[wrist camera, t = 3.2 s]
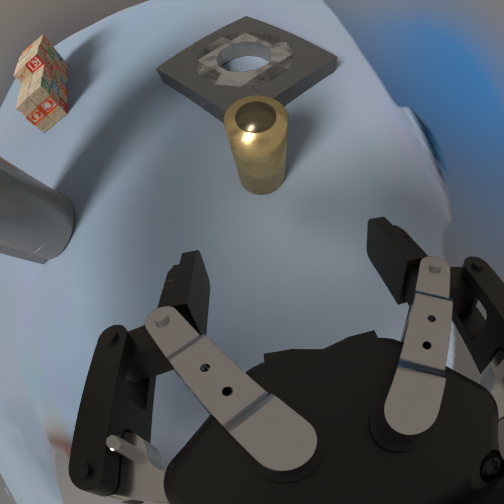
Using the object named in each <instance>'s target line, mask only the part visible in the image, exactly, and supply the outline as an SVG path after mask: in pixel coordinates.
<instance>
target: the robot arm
mask: <svg viewBox="0 0 504 504" xmlns="http://www.w3.org/2000/svg"><path fill="white" fill-rule="evenodd" d="M73 227H74V208H73V205H72V203H71V201H70V200H69V199H68V198H67V197H65V196H63V195H62V194H61V193H59V192H57V191H55V190H53V189H51V188H50V187H48V186H47V185H45V184H43V183H42V182H40V181H38V180H37V179H35V178H33V177H32V176H30V175H28V174H27V173H25V172H24V171H22V170H20V169H19V168H17V167H16V166H14V165H12V164H11V163H9V162H8V161H6V160H4V159H3V158H1V157H0V253H2V254H6V255H9V256H13V257H17V258H20V259H24V260H28V261H32V262H36V263H40V264H44V263H45V261H46V260H48V259H52V258H54V257H56V256H58V255H59V254H60V253H61V252H62V251H63V249H64V248H65V247H66V245H67V243H68V241H69V239H70V237H71V234H72V231H73ZM367 254H368V257H369V259H370V261H371V262H372V264H373V265H374V267H375V268H376V270H377V272H378V273H379V275H380V276H381V278H382V279H383V281H384V283H385V284H386V286H387V287H388V289H389V291H390V292H391V294H392V296H393V297H394V299H395V301H396V302H397V304H398V305H399V304H402V303H406V302H407V303H408V305H409V310H408V314H407V318H406V322H405V326H404V330H403V333H402V337H401V340H400V341H397V340H394V339H388V338H378V337H377V335H376V333H375V331H374V330H373V331H370V332H366V333H362V334H358V335H354V336H350V337H348V338H346V339H344V340H342V341H339V342H337V343H335V344H333V345H331V346H329V347H327V348H324V349H290V350H284V351H278V352H272V353H266V354H264V361H265V362H264V363H261V364H259V365H257V366H255V367H253V368H251V369H250V370H248V371H247V372H246V373H245V372H244V371H243V370H241V369H240V368H239V367H238V366H237V365H236V364H235V363H234V362H233V361H232V360H231V359H230V358H229V357H228V356H226V355H225V354H224V353H223V352H222V351H221V350H220V349H219V348H218V347H217V346H216V345H215V344H214V343H213V342H212V341H211V340H210V339H209V338H208V337H207V336H206V331H207V318H208V307H209V296H210V282H209V278H208V274H207V272H206V269H205V266H204V263H203V260H202V257H201V254H200V252H199V250H196V251H191V252H186V253H183V254H182V256H181V260H180V264H179V265H174V266H173V267H172V268H171V270H170V271H169V272H168V274H167V277H166V280H165V281H166V282H165V284H164V288H163V291H162V294H161V298H160V301H159V305H158V308H157V309H156V310H154V311H153V312H151V313H150V314H149V316H148V317H147V319H146V321H145V325H144V326H142V327H139V328H136V329H134V330H131V331H127V330H126V328H125V327H124V326H122V325H113V326H111V327H109V328H107V329H106V330H104V331H103V332H102V334H101V335H100V337H99V339H98V342H97V345H96V348H95V351H94V355H93V358H92V361H91V365H90V368H89V372H88V375H87V379H86V383H85V386H84V390H83V394H82V398H81V403H80V407H79V411H78V416H77V421H76V425H75V431H74V436H73V442H72V448H71V454H70V461H69V476H70V478H71V480H72V482H73V484H74V485H75V486H76V487H78V488H79V489H81V490H84V491H87V492H90V493H93V494H96V495H99V496H102V497H105V498H109V499H112V500H115V501H119V502H123V503H127V504H142V503H144V502H145V501H146V502H153V503H165V504H504V460H503V458H502V456H501V454H500V451H499V444H498V422H499V421H501V420H502V419H504V283H503V282H502V280H501V279H500V278H499V277H498V276H497V274H496V273H495V272H494V271H493V270H492V269H491V267H490V266H489V265H488V264H487V263H486V262H485V261H484V260H482V259H480V258H478V257H468V258H466V259H465V261H464V264H463V267H450V266H449V265H448V263H447V262H446V261H444V260H443V259H441V258H439V257H434V256H427V255H426V253H425V252H424V251H423V250H422V249H421V248H420V247H419V246H418V245H417V243H416V242H414V240H413V239H412V238H411V237H409V235H408V234H407V233H406V232H405V231H404V230H403V229H401V228H400V227H398V226H396V225H392V224H391V223H390V222H389V221H388V220H387V219H386V218H385V217H378V218H372V219H369V221H368V231H367ZM478 300H479V301H480V302H481V304H482V305H483V307H484V308H485V309H486V313H487V319H486V320H485V319H484V317H483V316H482V314H481V313H480V311H479V310H478V308H477V307H476V304H477V302H478ZM451 321H453V322H454V324H455V326H456V328H457V329H458V331H459V333H460V334H461V336H462V338H463V340H464V342H465V344H466V346H467V348H468V350H469V352H470V354H471V355H472V357H473V360H474V362H475V363H476V366H477V368H478V370H479V372H480V374H481V376H480V384H478V383H476V382H474V381H472V380H470V379H469V378H467V377H465V376H463V375H461V374H460V373H458V372H456V371H454V370H452V369H450V368H449V367H447V366H446V361H447V355H448V348H449V340H450V331H451ZM173 369H174V370H175V372H176V373H177V374H178V376H179V377H180V378H181V379H182V381H183V382H184V383H185V385H186V386H187V387H188V388H189V390H190V391H191V392H192V393H193V395H194V396H195V397H196V398H197V399H198V401H199V402H200V403H201V404H202V406H203V407H204V408H205V409H206V410H207V412H208V413H209V414H210V416H209V417H208V418H207V420H206V421H205V422H204V423H203V424H202V426H201V427H200V428H199V429H198V430H197V432H196V433H195V434H194V435H193V436H192V438H191V439H190V440H189V441H188V442H187V443H186V445H185V446H184V447H183V448H182V449H181V450H180V451H179V453H178V454H177V455H176V456H175V457H174V458H173V459H172V461H171V462H170V463H169V465H168V467H167V469H166V470H165V468H164V467H163V465H162V461H161V455H160V453H159V451H158V449H157V448H156V447H155V446H153V445H152V444H150V440H151V425H152V412H153V401H154V390H155V381H156V375H159V374H162V373H165V372H168V371H170V370H173Z"/></svg>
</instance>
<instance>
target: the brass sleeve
mask: <svg viewBox="0 0 504 504" xmlns="http://www.w3.org/2000/svg"><path fill="white" fill-rule="evenodd" d="M224 126H225V129H226V132H227V136H228V139H229V143H230V146H231V150H232V153H233V157H234V160H235V164H236V167H237V171H238V175H239V178H240V181H241V183H242V185H243V186H244V188H245V189H247V190H248V191H250V192H252V193H254V194H259V195H264V194H269V193H272V192H274V191H276V190H277V189H278V188H279V187H280V186H281V185H282V184H283V182H284V179H285V167H286V149H287V129H288V114H287V111H286V109H285V108H284V106H283V105H282V104H281V103H280V102H278V101H277V100H275V99H273V98H270V97H266V96H248V97H245V98H242V99H240V100H238V101H236V102H234V103H233V104H232V105H231V106H230V107H229V108H228V109H227V111H226V113H225V116H224Z"/></svg>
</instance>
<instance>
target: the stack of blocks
mask: <svg viewBox="0 0 504 504" xmlns="http://www.w3.org/2000/svg"><path fill="white" fill-rule="evenodd" d="M67 71H68V64H67V63H66V62H65V61H64V59H63V58H62V57H61V56H60V55H59V54H58V52H57V51H56V49H55V48H54V47H53V46H52V44H51V43H50V42H49V41H48V40H47V38H46V37H45V36H44V35H42V36H41V37H40V38H38V39H37V40H36V41H35V42H34V43H33V44H31V45H30V46H29V47H28V48H27V49H26V50H25V51H24V52H22V55H21V57H20V58H19V61H18V64H17V67H16V70H15V73H14V76H15V77H16V78H17V80H18V81H19V82H20V83H21V84H22V85H21V89H20V92H19V96H18V101H17V106H16V109H17V110H18V111H19V112H20V113H22V114H23V115H24V116H25V117H26V119H27V120H29V121H30V122H31V123H32V124H33V125H35V126H36V127H37V128H38V129H39V130H41V131H42V132H43V133H45V132H46V131H47V130H48V129H49V128H51V127H52V126H53V125H54V124H55V123H57V122H58V121H59V120H60V119H62V118H63V117H64V116H65V115H66V114H67Z"/></svg>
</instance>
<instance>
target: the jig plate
mask: <svg viewBox="0 0 504 504" xmlns="http://www.w3.org/2000/svg"><path fill="white" fill-rule="evenodd" d="M242 56H258V57H261V58H263V59H265V60H267V61H269V63H268V64H266V65H264V66H263V67H261V68H259V69H256V70H251V71H247V72H234V71H227V70H225V69H223V68H222V67H223V65H224V64H226V63H227V62H229V61H230V60H232V59H234V58H238V57H242ZM336 62H337V56H335V55H333V54H331V53H330V52H328V51H326V50H324V49H322V48H320V47H318V46H316V45H314V44H312V43H310V42H308V41H306V40H304V39H302V38H300V37H298V36H295V35H293V34H291V33H289V32H286V31H284V30H282V29H279V28H277V27H274V26H272V25H269V24H267V23H264V22H261V21H259V20H256V19H253V18H250V17H247V16H245V17H243V18H241V19H239V20H237V21H235V22H233V23H231V24H229V25H227V26H225V27H223V28H221V29H219V30H217V31H215V32H213V33H212V34H210V35H208V36H206V37H204V38H203V39H201V40H199V41H198V42H196V43H194V44H192V45H191V46H189V47H188V48H186V49H184V50H183V51H181V52H180V53H178V54H177V55H175V56H174V57H172V58H171V59H169V60H168V61H166V62H165V63H163V64H162V65H160V66H159V67H157V68H156V69H157V71H158V73H159V75H160V77H161V79H162V81H163V82H164V83H166V84H168V85H169V86H171V87H172V88H174V89H175V90H177V91H178V92H180V93H181V94H183V95H184V96H186V97H187V98H189V99H190V100H192V101H193V102H195V103H196V104H198V105H199V106H201V107H202V108H204V109H205V110H206V111H208V112H209V113H211V114H212V115H213V116H215V117H216V118H218V119H219V120H220V121H222V122H223V123H224V116H225V113H226V111H227V109H228V108H229V107H230V106H231V105H232V104H233V103H234V102H236V101H238V100H240V99H242V98H245V97H248V96H266V97H270V98H273V99H275V100H277V101H278V102H280V103H281V104H282V105H283V106H285V105H287V104H288V103H290V102H291V101H292V100H294V99H295V98H296V97H298V96H299V95H301V94H302V93H303V92H305V91H306V90H308V89H309V88H311V87H312V86H313V85H315V84H316V83H318V82H319V81H321V80H322V79H324V78H325V77H327V76H328V75H330V74H331V73H333V72H334V71H335V67H336Z"/></svg>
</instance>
